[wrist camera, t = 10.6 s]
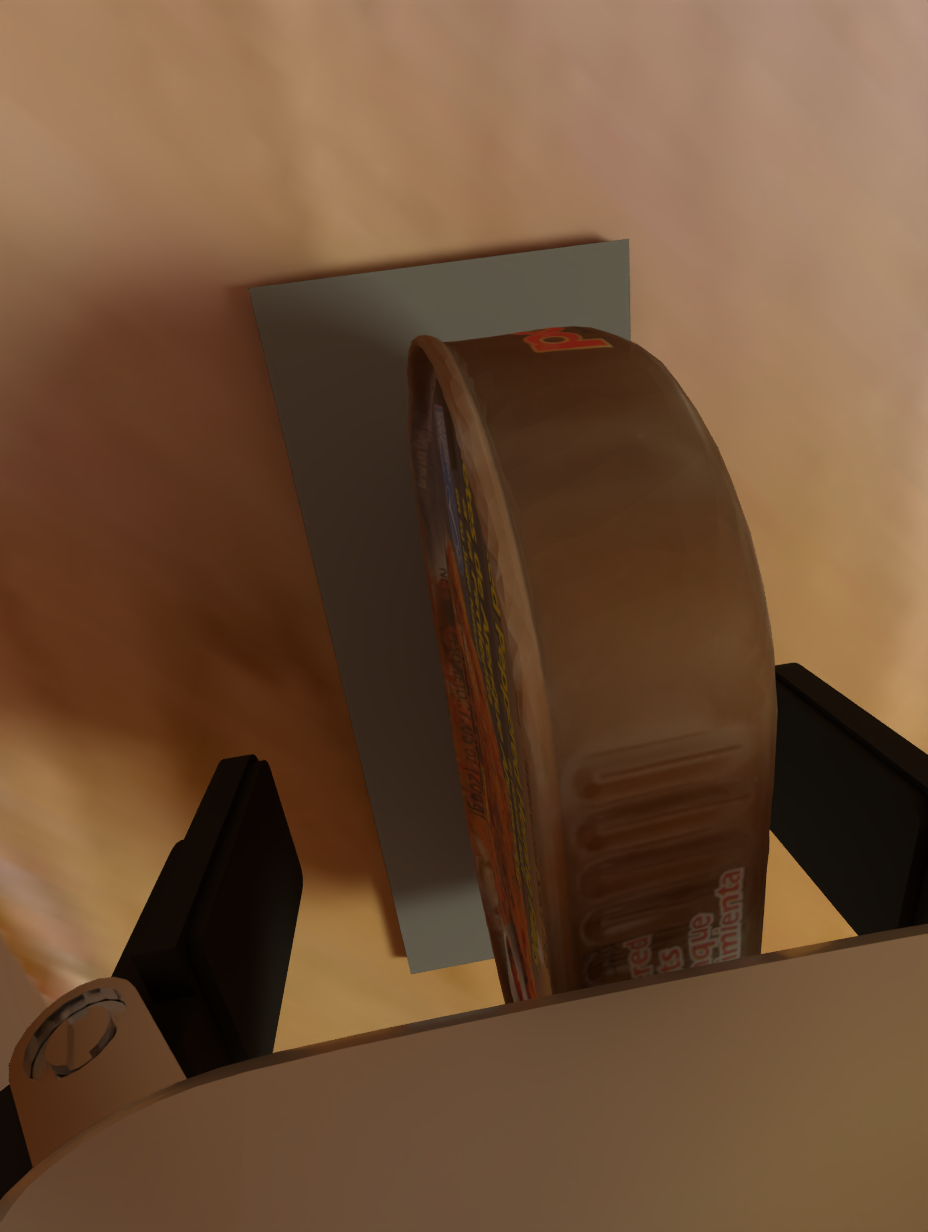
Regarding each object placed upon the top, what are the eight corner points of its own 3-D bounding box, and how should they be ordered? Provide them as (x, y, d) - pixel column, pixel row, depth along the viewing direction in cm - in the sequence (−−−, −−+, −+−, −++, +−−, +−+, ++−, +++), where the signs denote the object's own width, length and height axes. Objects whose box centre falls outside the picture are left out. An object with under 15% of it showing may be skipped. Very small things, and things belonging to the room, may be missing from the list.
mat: (254, 292, 11) (248, 288, 11) (619, 244, 11) (629, 238, 11) (410, 958, 18) (410, 974, 17) (634, 916, 18) (640, 930, 18)
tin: (390, 353, 11) (379, 297, 3) (552, 331, 11) (896, 228, 4) (481, 921, 17) (554, 1380, 9) (588, 901, 17) (749, 1336, 9)
